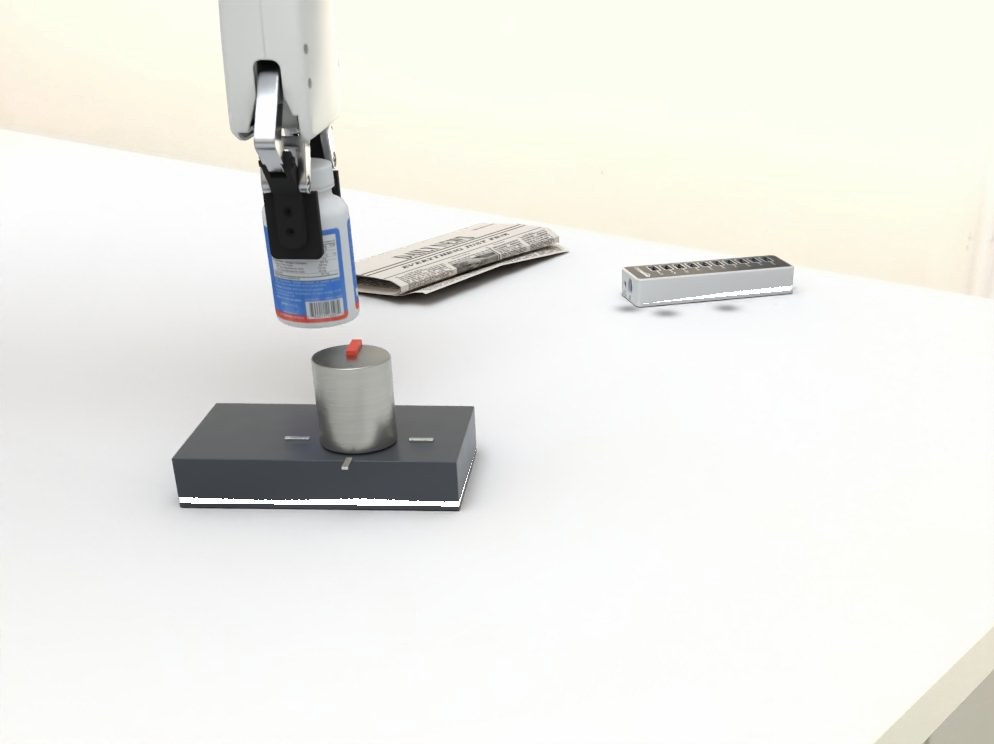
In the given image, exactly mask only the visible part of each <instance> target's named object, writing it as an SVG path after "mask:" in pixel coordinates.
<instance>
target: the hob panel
mask: <svg viewBox="0 0 994 744" xmlns="http://www.w3.org/2000/svg"><path fill="white" fill-rule="evenodd" d="M395 412H396V424H397V435H398V438H397V440H396V442H395V443H394V444H393V445H391V446H390V447H387V448H385V449H382V450H379V451H375V452H370V453H362V454H346V453H338V452H333V451H330V450H328V449H326V448H324V447H323V446H322V444H321V442H320V434H319V425H318V416H317V408H316V403H252V402H250V403H249V402H248V403H247V402H245V403H244V402H215V404H214V405H213V407H211V409H210V410H209V411H208V412H207V414H206V415H205V416H204V418H203V419H202V420H201V421H200V422H199V424H197V426H196V427H195V429H194V430H193V432H191V434H190V435H189V436H188V437H187V438H186V440H185V441H184V443H183V444H182V445H181V446H180V448H178V450H177V451H176V453H175V454H174V455H173V456H172V457H171V463H172V469H173V475H174V481H175V486H176V491H177V498H178V497H193V498H195V497H198V498H222V499H224V498H228V499H233V498H234V499H254V500H258V499H259V500H264V499H267V500H271V499H272V500H285V499H286V500H291V499H293V500H298V499H300V500H305V499H307V500H309V499H340V498H342V499H348V498H350V499H353V498H359V499H361V498H367V499H374V498H375V499H387V500H388V499H389V500H392V499H395V500H409V501H417V500H419V501H444V502H445V501H459V499H460V497H461V494H462V490H463V487H464V484H465V481H466V478H467V475H468V472H469V469H470V472H469V475H468V479H467V482H466V485H465V489H464V492H463V496H462V499H461V502H460V506H459V507H441V506H357V505H274V504H191V503H179V502H178V503H179V507H180V508H227V509H228V508H233V509H235V508H238V509H244V508H245V509H321V510H322V509H325V510H327V509H328V510H393V511H394V510H400V511H404V510H405V511H407V510H408V511H460V510H461V506H462V502H463V499H464V495H465V492H466V488H467V485H468V482H469V478H470V475H471V472H472V468H473V464H474V461H475V458H476V454H477V451H478V450H477V448H476V447H477V430H476V411H475V406H474V405H417V404H416V405H414V404H413V405H412V404H411V405H410V404H409V405H408V404H407V405H406V404H395ZM475 450H476V451H475ZM474 453H475V455H474ZM473 457H474V458H473ZM472 460H473V461H472ZM471 463H472V465H471ZM470 466H471V468H470Z"/></svg>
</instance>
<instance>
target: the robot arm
mask: <svg viewBox="0 0 994 744" xmlns="http://www.w3.org/2000/svg"><path fill="white" fill-rule="evenodd" d="M332 1H333V0H218V1H217V2H218V14H219V15H218V17H219V30H220V41H221V52H222V65H223V73H224V84H225V93H226V94H225V95H226V104H227V114H228V123H229V129H230V132H231V133H232V135H233V136H234V137H235V138H236V139H237V140H239V141H241V142H242V141H243V142H244V141H245V142H246V141H248V140H250V139H252V138H253V146H254V150H255V152H256V154H257V156H258V167H259V171H260V186H261V191H262V198H263V206H264V207H265V215H266V222H267V230H268V238H269V245H270V253H271V255H272V257H273V258H275V259H304V260H318V259H320V258H321V257H322V256H323V255H324V245H323V236H322V227H321V218H320V208H319V199H318V191H311V160H310V158H320V159H326V160H329V161H330V162H331V163H332V169H333V176H334V187H332V188H331V190H332V193H333V194H334V195H337V196H339V197H340V198H342V194H341V184H340V172H339V170H338V169H337V165H338V160H337V158H338V157H337V152H336V147H335V140H334V136H333V134H334V133H333V126H332V124H333V123H334V122H335V121H336V120H337V119H338V118H339V117H340V114H341V111H342V86H341V85H342V84H341V71H340V70H341V69H340V61H339V52H338V41H337V33H336V25H335V15H334V9H333V8H334V7H333V2H332ZM282 131H284V135H283V133H282ZM295 158H297V165H296V162H295V161H296V160H295Z"/></svg>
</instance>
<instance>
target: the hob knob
mask: <svg viewBox="0 0 994 744" xmlns="http://www.w3.org/2000/svg"><path fill="white" fill-rule="evenodd" d="M310 363H311V372H312V382H313V390H314V399H315V404H316V408H317V416H318V425H319V434H320V442H321V444H322V446H323V447H324V448H326V449H328V450H330V451H333V452H338V453H346V454H362V453H370V452H375V451H379V450H382V449H385V448H387V447H390V446H391V445H393V444H394V443H395V442H396V440H397V438H398V435H397V424H396V412H395V405H396V403H395V402H396V401H395V390H394V379H393V378H394V377H393V368H392V367H393V366H392V356H391V353H390V351H389V350H387V349H385V348H384V347H381V346H377V345H372V344H363V339H361V338H360V339H359V338H353V339H351V341H350V342H349V344H341V345H335V346H329V347H326V348H323V349H321V350H318V351H316V352H315V353H313V354H312V355H311V358H310Z"/></svg>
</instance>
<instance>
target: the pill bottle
mask: <svg viewBox="0 0 994 744" xmlns="http://www.w3.org/2000/svg"><path fill="white" fill-rule="evenodd" d="M295 160H296V161H295V162H296V165H297V158H295ZM310 160H311V191H318V199H319V208H320V218H321V227H322V236H323V245H324V255H323V256H322V257H321V258H320V259H318V260H304V259H275V258H273V257H272V255H271V253H270V245H269V238H268V230H267V222H266V215H265V207H264V205H263V206H262V209H261V220H262V225H263V233H264V240H265V246H266V254H267V261H268V262H267V263H268V266H269V267H268V269H269V274H270V282H271V289H272V297H273V303H274V310H275V315H276V318H277V320H278V321H279V322H280V323H282V324H284V325H286V326H289V327H292V328H298V329H307V330H310V329H311V330H313V329H326V328H331V327H337V326H342V325H345V324H348V323H350V322H353V321H354V320H355V319H357V317H358V316H359V315H360V297H359V292H358V288H357V280H356V270H355V262H356V261H355V252H354V244H353V236H352V226H351V225H352V224H351V218H350V209H349V206H348V204H347V202H346V200H344V199H343V198H342V197H341V198H340V197H339V196H337V195H334V194H333V193H332V190H331V188H332V187H334V176H333V170H334V169H332V163H331V162H330V161H329V160H326V159H320V158H310Z"/></svg>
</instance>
